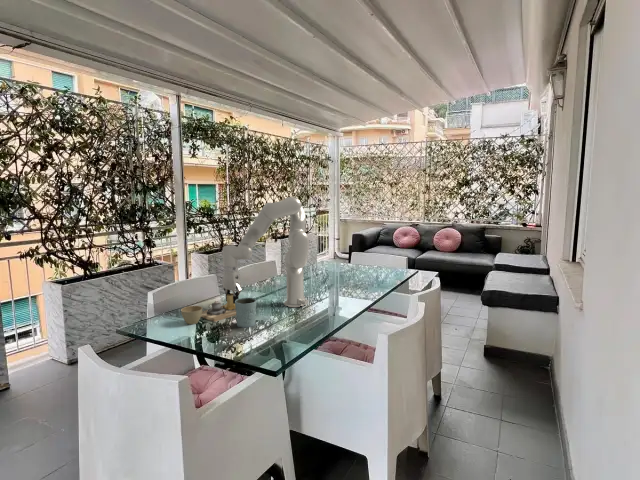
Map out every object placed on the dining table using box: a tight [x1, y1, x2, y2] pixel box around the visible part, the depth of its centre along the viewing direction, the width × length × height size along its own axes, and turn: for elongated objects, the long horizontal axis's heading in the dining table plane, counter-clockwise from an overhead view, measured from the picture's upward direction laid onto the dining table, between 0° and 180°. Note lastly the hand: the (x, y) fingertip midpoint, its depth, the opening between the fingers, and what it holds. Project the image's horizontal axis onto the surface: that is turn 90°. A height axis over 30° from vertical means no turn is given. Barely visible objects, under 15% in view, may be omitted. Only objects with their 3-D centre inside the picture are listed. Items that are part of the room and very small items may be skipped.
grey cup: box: [235, 297, 257, 329], centre depth 183 cm, size 10×10×12 cm
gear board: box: [200, 300, 236, 322], centre depth 202 cm, size 15×25×7 cm, turn 140°
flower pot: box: [180, 305, 203, 325], centre depth 187 cm, size 10×10×7 cm
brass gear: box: [222, 292, 236, 310], centre depth 204 cm, size 10×10×7 cm
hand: (232, 301), depth 204 cm, fingers open, 5 cm apart
